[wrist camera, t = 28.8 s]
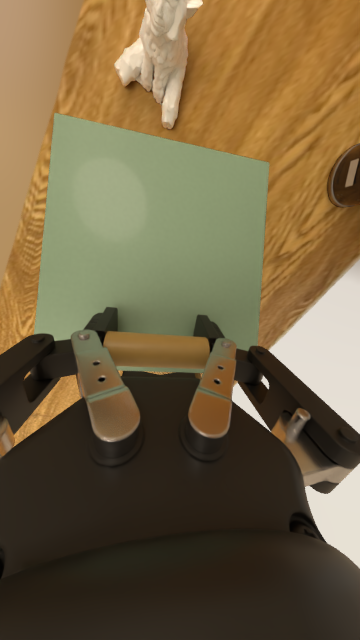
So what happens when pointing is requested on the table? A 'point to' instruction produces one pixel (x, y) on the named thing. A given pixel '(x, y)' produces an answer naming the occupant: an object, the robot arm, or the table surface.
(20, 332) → the table surface
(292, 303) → the table surface
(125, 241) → the lid
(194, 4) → the sitting furry creature
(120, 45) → the table surface
